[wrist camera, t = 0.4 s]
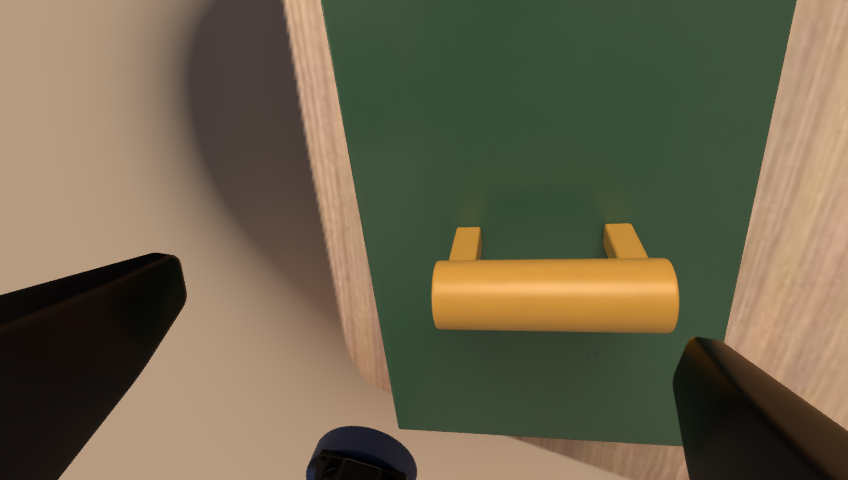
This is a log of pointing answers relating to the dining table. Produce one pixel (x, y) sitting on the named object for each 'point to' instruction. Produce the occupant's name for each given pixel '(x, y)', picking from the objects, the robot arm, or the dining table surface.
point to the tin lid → (553, 198)
